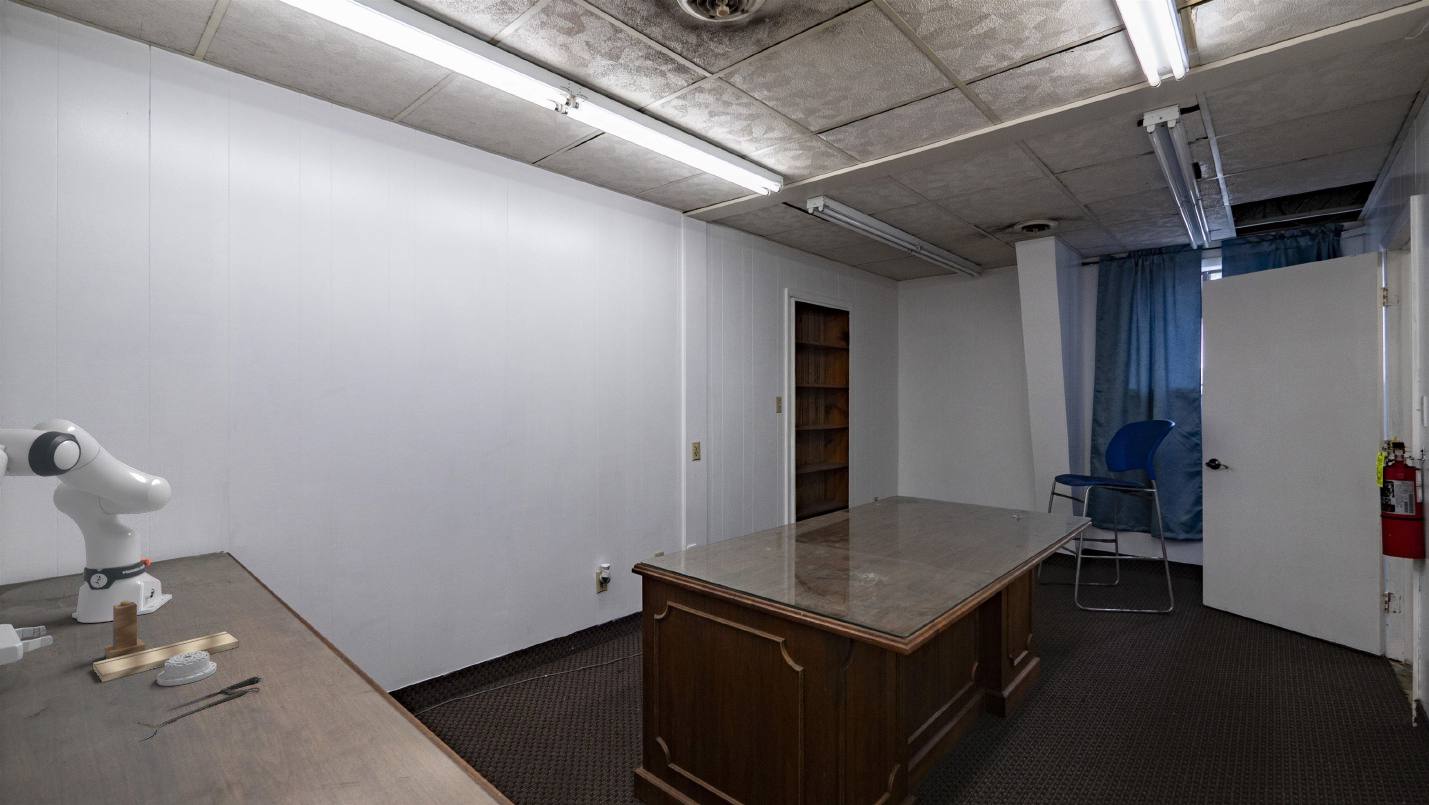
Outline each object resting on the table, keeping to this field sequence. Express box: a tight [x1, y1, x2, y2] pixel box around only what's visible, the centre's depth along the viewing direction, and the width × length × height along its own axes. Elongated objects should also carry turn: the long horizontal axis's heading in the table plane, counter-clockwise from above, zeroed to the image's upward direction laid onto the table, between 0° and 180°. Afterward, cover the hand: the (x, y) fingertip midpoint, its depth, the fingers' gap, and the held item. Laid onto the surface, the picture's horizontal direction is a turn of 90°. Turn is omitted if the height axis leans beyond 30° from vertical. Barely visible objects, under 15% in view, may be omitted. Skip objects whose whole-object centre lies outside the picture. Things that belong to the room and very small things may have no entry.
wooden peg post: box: [104, 601, 146, 660], centre depth 147 cm, size 6×6×13 cm
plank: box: [92, 631, 240, 683], centre depth 146 cm, size 24×10×2 cm, turn 143°
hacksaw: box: [129, 676, 262, 743], centre depth 122 cm, size 24×10×2 cm, turn 151°
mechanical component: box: [156, 651, 217, 687], centre depth 136 cm, size 10×4×10 cm
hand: (48, 634), depth 137 cm, fingers open, 8 cm apart
